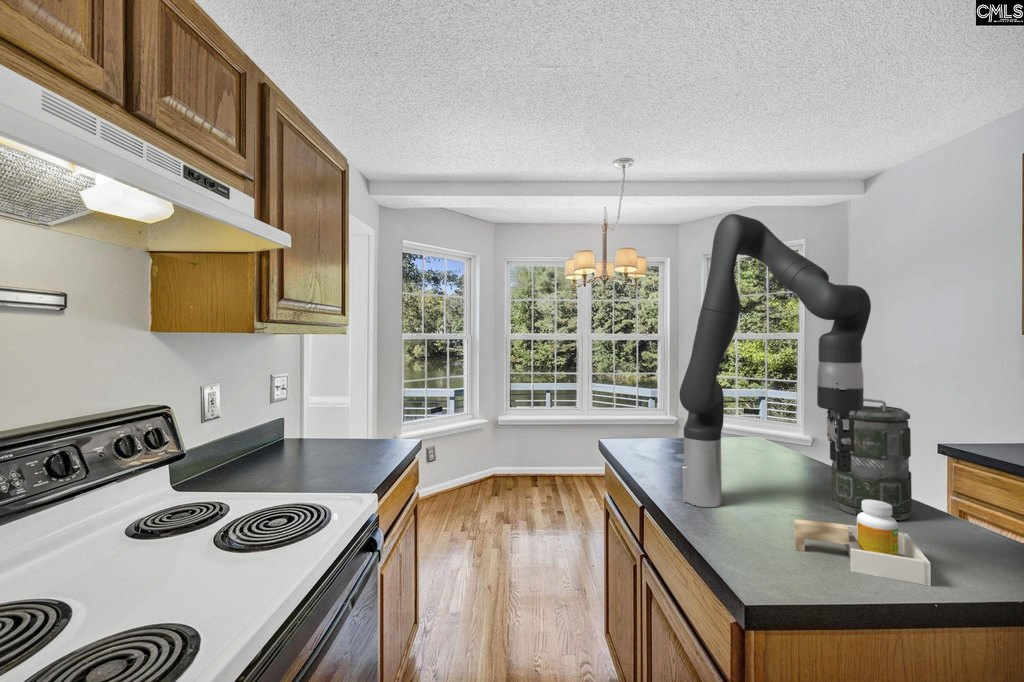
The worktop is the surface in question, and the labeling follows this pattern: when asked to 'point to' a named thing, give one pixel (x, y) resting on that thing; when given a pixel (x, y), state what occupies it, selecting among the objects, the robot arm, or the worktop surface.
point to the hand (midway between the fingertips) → (839, 465)
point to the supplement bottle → (877, 528)
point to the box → (893, 562)
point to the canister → (877, 462)
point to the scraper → (823, 534)
